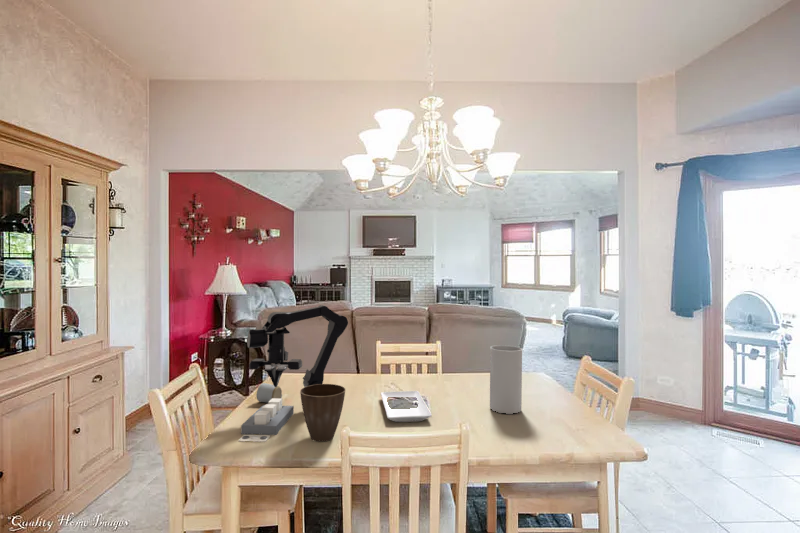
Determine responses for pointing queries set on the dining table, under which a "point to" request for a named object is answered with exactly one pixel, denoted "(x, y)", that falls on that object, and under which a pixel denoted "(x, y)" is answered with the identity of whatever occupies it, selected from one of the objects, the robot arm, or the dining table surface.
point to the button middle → (270, 409)
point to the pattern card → (255, 438)
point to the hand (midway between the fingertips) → (275, 386)
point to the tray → (406, 414)
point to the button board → (272, 426)
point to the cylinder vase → (505, 379)
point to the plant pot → (322, 409)
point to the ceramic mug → (268, 392)
